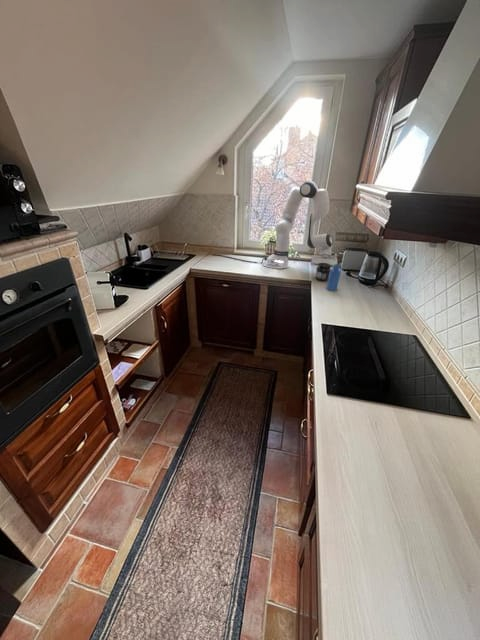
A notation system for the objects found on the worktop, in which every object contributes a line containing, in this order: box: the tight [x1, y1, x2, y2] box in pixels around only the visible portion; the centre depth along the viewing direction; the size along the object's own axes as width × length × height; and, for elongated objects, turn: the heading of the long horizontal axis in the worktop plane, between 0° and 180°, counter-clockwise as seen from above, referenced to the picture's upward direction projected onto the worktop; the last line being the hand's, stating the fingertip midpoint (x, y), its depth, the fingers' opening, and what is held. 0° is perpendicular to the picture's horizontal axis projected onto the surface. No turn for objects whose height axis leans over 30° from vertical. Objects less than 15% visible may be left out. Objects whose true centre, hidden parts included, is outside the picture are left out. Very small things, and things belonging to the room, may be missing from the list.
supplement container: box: [314, 263, 332, 282], centre depth 197 cm, size 10×10×12 cm
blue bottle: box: [326, 263, 342, 292], centre depth 179 cm, size 7×7×18 cm
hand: (322, 270), depth 202 cm, fingers closed, pressing on supplement container
